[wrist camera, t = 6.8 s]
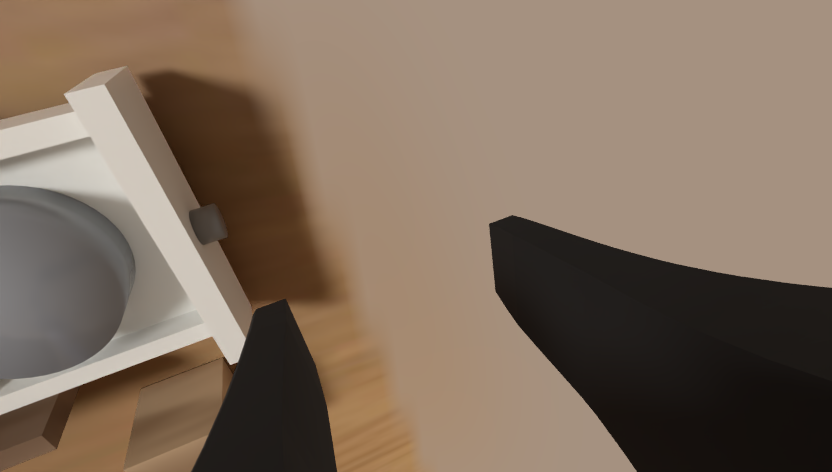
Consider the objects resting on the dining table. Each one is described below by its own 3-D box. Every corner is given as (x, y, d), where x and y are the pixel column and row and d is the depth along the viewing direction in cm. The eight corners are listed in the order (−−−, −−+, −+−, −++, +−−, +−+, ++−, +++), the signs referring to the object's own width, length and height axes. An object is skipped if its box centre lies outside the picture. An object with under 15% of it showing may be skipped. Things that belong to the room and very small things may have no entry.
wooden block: (252, 405, 22) (256, 477, 19) (178, 435, 21) (169, 515, 18) (222, 357, 20) (221, 429, 17) (140, 388, 19) (122, 470, 16)
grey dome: (3, 361, 15) (-25, 406, 13) (-149, 228, 12) (-210, 266, 10) (168, 296, 16) (161, 330, 14) (66, 158, 13) (43, 182, 11)
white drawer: (269, 299, 19) (275, 347, 16) (7, 395, 16) (-31, 466, 14) (153, 59, 13) (136, 76, 11) (-255, 156, 11) (-391, 204, 9)
